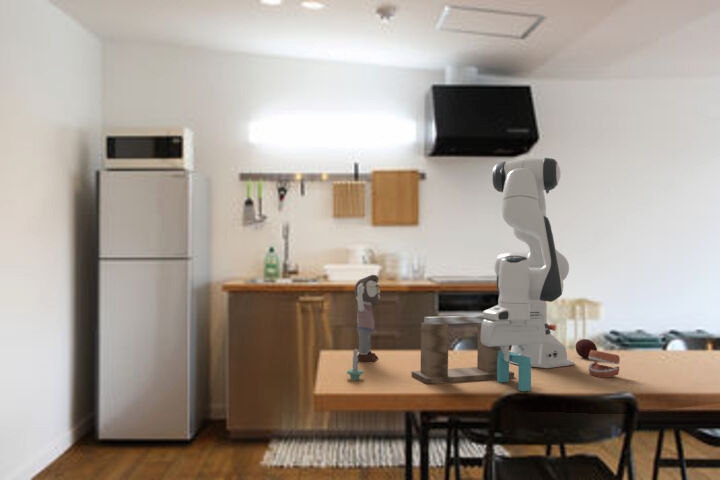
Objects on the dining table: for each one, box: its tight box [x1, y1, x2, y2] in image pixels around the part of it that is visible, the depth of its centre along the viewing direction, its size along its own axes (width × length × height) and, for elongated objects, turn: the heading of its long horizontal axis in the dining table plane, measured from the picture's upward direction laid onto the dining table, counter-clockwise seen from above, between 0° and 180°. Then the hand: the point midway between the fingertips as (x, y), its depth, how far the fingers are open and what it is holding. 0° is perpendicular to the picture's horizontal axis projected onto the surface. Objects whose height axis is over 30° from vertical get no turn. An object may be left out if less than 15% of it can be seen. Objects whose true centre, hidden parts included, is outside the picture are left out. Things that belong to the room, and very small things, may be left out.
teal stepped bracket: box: [496, 350, 532, 392], centre depth 147 cm, size 3×12×9 cm, turn 20°
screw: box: [346, 348, 365, 381], centre depth 152 cm, size 9×5×5 cm
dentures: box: [587, 350, 621, 378], centre depth 163 cm, size 9×7×8 cm
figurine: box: [354, 274, 381, 363], centre depth 179 cm, size 18×9×30 cm, turn 168°
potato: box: [574, 338, 598, 359], centre depth 192 cm, size 7×8×7 cm
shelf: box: [411, 314, 515, 385], centre depth 158 cm, size 30×10×18 cm, turn 110°
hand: (513, 360), depth 148 cm, fingers closed on teal stepped bracket, 2 cm apart
